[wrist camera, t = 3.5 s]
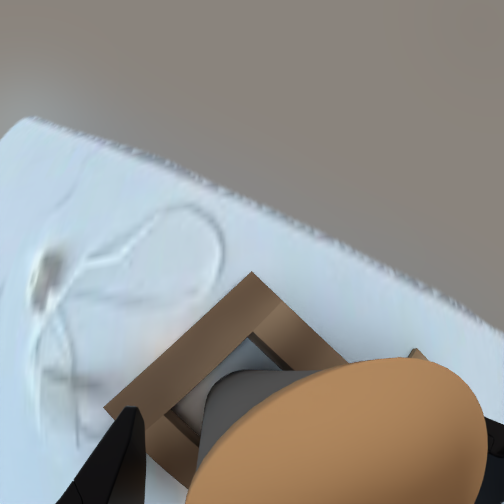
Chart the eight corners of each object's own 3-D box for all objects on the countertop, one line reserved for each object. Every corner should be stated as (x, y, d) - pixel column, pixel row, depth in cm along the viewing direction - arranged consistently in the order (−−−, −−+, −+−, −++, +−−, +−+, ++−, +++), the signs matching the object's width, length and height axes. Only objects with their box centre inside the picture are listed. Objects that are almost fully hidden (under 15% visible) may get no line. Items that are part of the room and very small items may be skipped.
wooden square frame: (366, 397, 16) (387, 399, 14) (250, 516, 12) (256, 534, 10) (246, 284, 18) (251, 271, 16) (117, 402, 14) (103, 407, 12)
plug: (308, 406, 16) (513, 444, 3) (249, 465, 14) (344, 630, 1) (247, 350, 17) (371, 280, 4) (184, 409, 15) (100, 534, 2)
